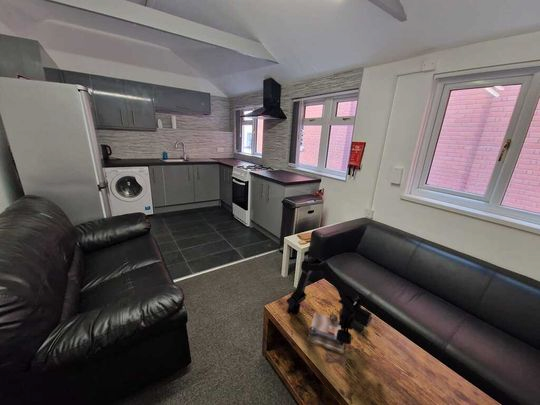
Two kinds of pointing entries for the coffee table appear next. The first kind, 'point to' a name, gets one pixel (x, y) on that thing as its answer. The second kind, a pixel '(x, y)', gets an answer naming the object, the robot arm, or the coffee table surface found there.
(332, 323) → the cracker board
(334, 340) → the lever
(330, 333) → the terracotta cube
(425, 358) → the coffee table surface
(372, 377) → the coffee table surface
